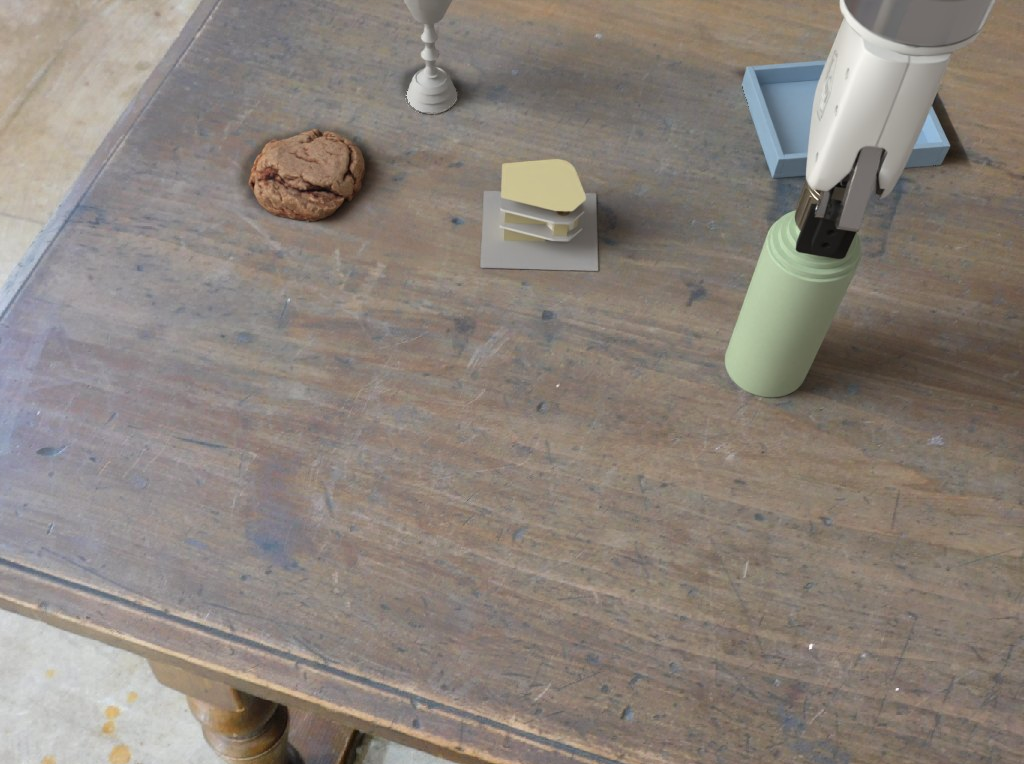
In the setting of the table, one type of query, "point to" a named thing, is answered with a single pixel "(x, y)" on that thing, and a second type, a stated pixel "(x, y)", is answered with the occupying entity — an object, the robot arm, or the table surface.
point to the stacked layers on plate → (539, 219)
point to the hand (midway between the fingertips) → (822, 225)
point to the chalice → (430, 61)
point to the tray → (809, 118)
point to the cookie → (307, 175)
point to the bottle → (786, 312)
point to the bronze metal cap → (812, 197)
